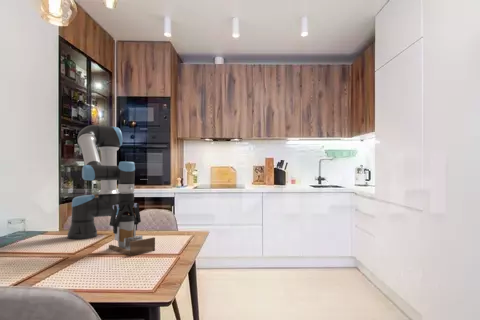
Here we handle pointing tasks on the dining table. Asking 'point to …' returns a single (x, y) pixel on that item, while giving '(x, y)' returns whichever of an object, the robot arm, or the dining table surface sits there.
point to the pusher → (130, 239)
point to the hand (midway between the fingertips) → (125, 238)
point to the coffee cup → (125, 228)
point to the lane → (137, 247)
